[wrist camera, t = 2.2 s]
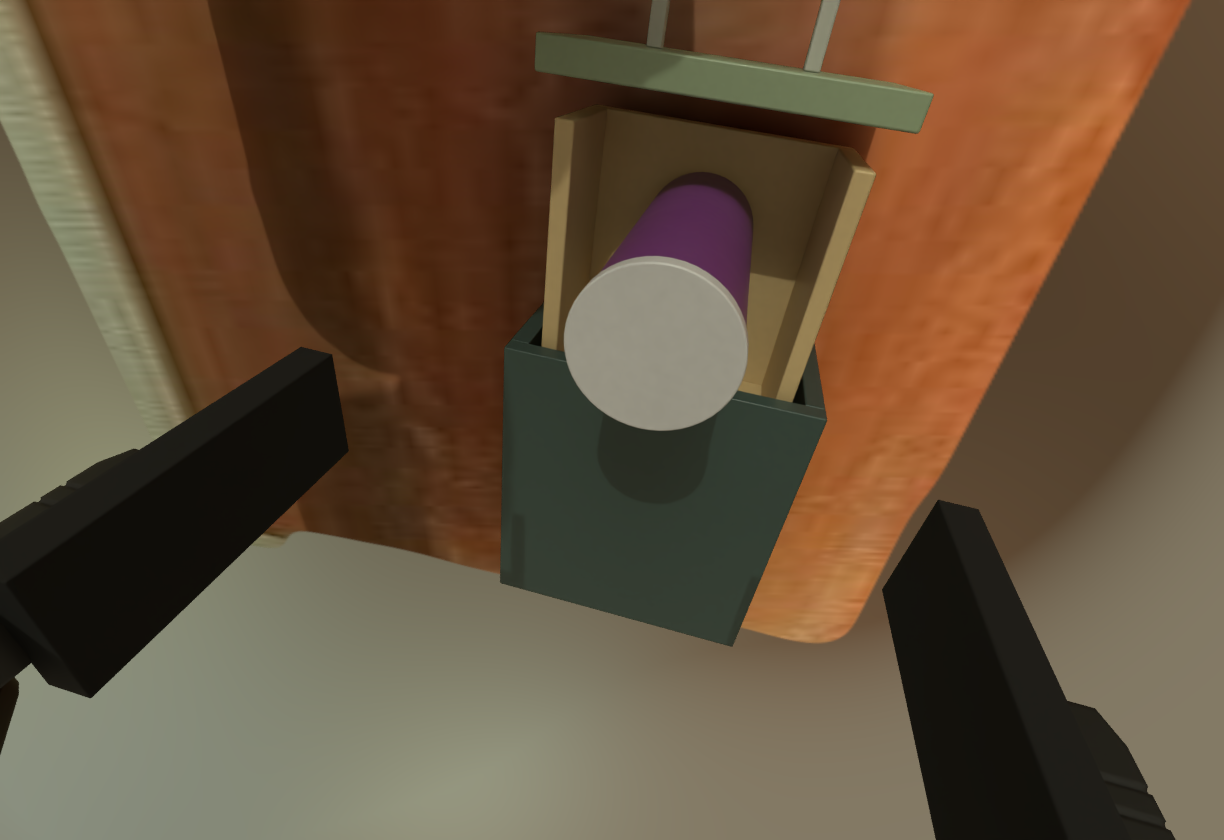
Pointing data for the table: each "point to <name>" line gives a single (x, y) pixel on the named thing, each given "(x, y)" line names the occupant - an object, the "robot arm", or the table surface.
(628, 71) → the drawer
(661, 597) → the cabinet
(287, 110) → the table surface
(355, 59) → the table surface
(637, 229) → the snack tube
